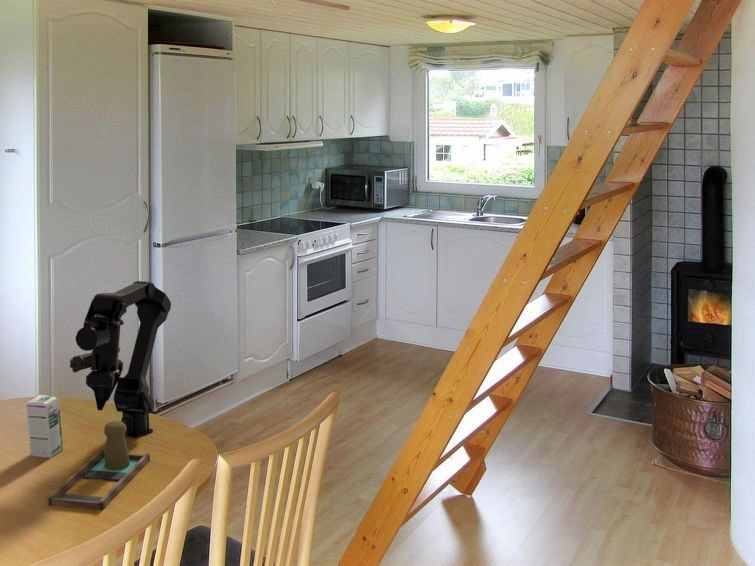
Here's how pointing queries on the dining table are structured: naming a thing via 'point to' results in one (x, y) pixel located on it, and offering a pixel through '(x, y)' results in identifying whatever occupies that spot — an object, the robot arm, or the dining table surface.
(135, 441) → the dining table surface
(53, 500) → the channel
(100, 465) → the pad
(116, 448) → the cork
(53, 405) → the syrup box
